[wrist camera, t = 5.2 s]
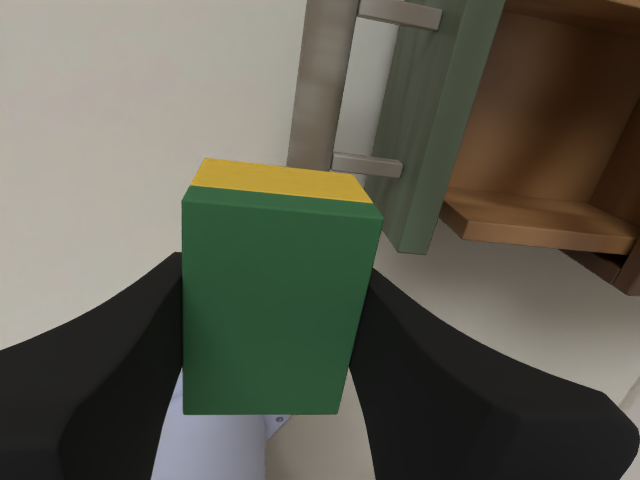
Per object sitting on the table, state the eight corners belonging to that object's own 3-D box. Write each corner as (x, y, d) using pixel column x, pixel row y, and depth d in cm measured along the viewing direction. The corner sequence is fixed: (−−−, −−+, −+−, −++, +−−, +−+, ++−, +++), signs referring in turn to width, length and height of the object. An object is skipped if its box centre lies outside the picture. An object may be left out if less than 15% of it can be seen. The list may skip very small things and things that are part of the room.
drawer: (276, 190, 19) (281, 243, 13) (307, -77, 14) (331, -149, 9) (573, 223, 22) (669, 276, 16) (673, 13, 17) (846, -4, 12)
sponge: (200, 334, 14) (182, 416, 11) (204, 157, 11) (180, 198, 8) (322, 338, 15) (337, 415, 12) (354, 173, 12) (385, 217, 9)
